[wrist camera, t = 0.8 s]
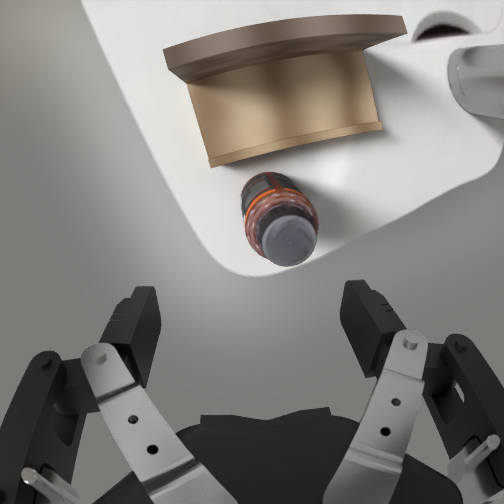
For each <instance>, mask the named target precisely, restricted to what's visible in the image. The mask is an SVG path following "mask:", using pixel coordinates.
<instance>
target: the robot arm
mask: <svg viewBox="0 0 504 504" xmlns="http://www.w3.org/2000/svg"><path fill="white" fill-rule="evenodd" d="M448 79H449V83H450V87H451V90H452V92H453V95H454V96H455V98H456V100H457V102H458V103H459V104H460V105H461V107H462V108H464V109H465V110H466V111H467V112H469V113H472V114H476V115H482V116H489V117H494V118H500V119H504V44H501V45H487V46H476V47H467V48H460V49H457V50H455V51H454V52H453V53H452V55H451V56H450V59H449V63H448ZM340 321H341V324H342V327H343V329H344V331H345V333H346V335H347V337H348V340H349V342H350V344H351V346H352V348H353V351H354V353H355V355H356V357H357V359H358V362H359V364H360V366H361V368H362V371H363V373H364V375H365V377H366V378H368V377H374V376H376V378H377V382H376V384H375V387H374V389H373V391H372V394H371V396H370V399H369V401H368V403H367V405H366V408H365V410H364V412H363V414H362V417H361V419H360V421H359V423H358V422H356V421H354V420H351V419H348V418H345V417H340V416H333V415H331V412H330V409H329V407H324V408H317V409H309V410H300V411H297V412H293V413H290V414H287V415H284V416H281V417H277V418H274V419H270V420H260V419H253V418H247V417H241V416H235V415H201V419H200V424H197V425H193V426H190V427H187V428H185V429H182V430H180V431H179V432H177V433H174V432H173V431H172V429H171V428H170V427H169V425H168V424H167V423H166V421H165V420H164V419H163V417H162V416H161V414H160V413H159V412H158V410H157V409H156V407H155V406H154V405H153V403H152V402H151V400H150V399H149V397H148V396H147V394H146V393H145V392H144V390H143V388H146V386H147V382H148V378H149V373H150V369H151V365H152V361H153V357H154V353H155V349H156V346H157V342H158V337H159V335H160V331H161V316H160V311H159V306H158V301H157V296H156V291H155V288H154V287H153V286H137V287H136V288H135V289H134V292H133V294H132V296H131V298H124V299H123V300H122V301H121V302H120V303H119V304H118V305H117V306H116V308H115V310H114V312H113V315H112V316H111V318H110V321H109V322H108V324H107V326H106V328H105V330H104V332H103V335H102V337H101V339H100V341H99V343H97V344H93V345H91V346H89V347H88V348H86V349H85V350H84V351H83V353H82V355H81V358H77V359H71V360H64V361H62V360H61V358H60V356H59V355H58V354H57V353H56V352H54V351H44V352H41V353H39V354H37V355H36V356H35V357H34V358H33V359H32V360H31V362H30V364H29V366H28V368H27V370H26V371H25V374H24V376H23V378H22V380H21V382H20V384H19V386H18V388H17V390H16V392H15V395H14V397H13V399H12V401H11V403H10V406H9V408H8V410H7V413H6V415H5V417H4V420H3V423H2V425H1V428H0V504H79V496H78V493H77V492H76V490H75V489H74V488H73V487H72V486H71V481H72V476H73V470H74V465H75V461H76V456H77V452H78V447H79V443H80V439H81V434H82V430H83V427H84V423H85V419H86V415H87V413H92V412H99V411H101V413H102V415H103V417H104V419H105V421H106V423H107V425H108V427H109V429H110V431H111V433H112V435H113V437H114V438H115V440H116V442H117V444H118V445H119V447H120V449H121V451H122V453H123V454H124V456H125V458H126V459H127V461H128V463H129V464H130V466H131V468H132V469H133V470H132V471H131V472H130V473H129V474H128V475H127V476H126V477H124V478H123V479H122V480H121V481H120V482H118V483H117V484H116V485H115V486H113V487H112V488H111V489H110V490H109V491H108V492H106V493H105V494H104V495H103V496H101V497H100V498H99V499H98V500H96V501H95V502H94V503H92V504H490V503H492V502H493V501H495V500H497V499H498V498H500V497H501V496H502V495H504V388H503V386H502V384H501V383H500V381H499V380H498V378H497V377H496V375H495V374H494V372H493V371H492V369H491V368H490V366H489V365H488V363H487V362H486V360H485V359H484V357H483V356H482V354H481V353H480V352H479V350H478V349H477V347H476V346H475V345H474V343H473V342H472V341H471V340H470V339H469V338H468V337H466V336H464V335H461V334H451V335H449V336H448V337H447V338H446V340H445V343H444V344H435V343H428V342H427V340H426V338H425V337H424V336H423V335H422V334H420V333H418V332H416V331H413V330H407V329H406V327H405V326H404V324H403V323H402V321H401V320H400V318H399V317H398V315H397V314H396V313H395V311H393V308H392V307H391V305H389V303H388V301H387V300H386V299H385V297H384V296H383V295H381V294H380V293H379V292H377V291H376V290H371V289H370V287H369V286H368V285H367V283H366V282H365V280H348V281H346V283H345V286H344V292H343V297H342V303H341V308H340ZM457 383H458V385H459V386H460V388H461V390H462V392H463V394H464V403H463V401H462V400H461V398H460V396H459V394H458V392H457V390H456V388H455V386H456V384H457ZM422 395H423V397H424V399H425V402H426V404H427V406H428V408H429V410H430V413H431V415H432V417H433V420H434V422H435V424H436V427H437V429H438V431H439V434H440V436H441V438H442V441H443V443H444V446H445V448H446V451H447V454H448V456H449V459H450V462H449V464H448V469H447V470H448V475H447V477H446V476H444V475H443V474H440V473H439V472H437V471H435V470H434V469H432V468H430V467H428V466H427V465H425V464H424V463H422V462H420V461H418V460H417V459H415V458H414V457H412V456H410V455H409V454H407V453H405V452H406V449H407V446H408V443H409V440H410V437H411V433H412V430H413V427H414V423H415V420H416V416H417V413H418V409H419V405H420V401H421V397H422Z"/></svg>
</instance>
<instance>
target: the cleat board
mask: <svg viewBox="0 0 504 504" xmlns="http://www.w3.org/2000/svg"><path fill="white" fill-rule="evenodd" d="M404 34H407V30H406V27H405V24H404V21H403V18H402V16H396V15H372V14H352V15H327V16H314V17H303V18H294V19H286V20H279V21H273V22H267V23H261V24H255V25H250V26H245V27H240V28H236V29H231V30H227V31H223V32H219V33H215V34H211V35H208V36H204V37H200V38H197V39H194V40H190V41H187V42H184V43H181V44H178V45H175V46H172V47H169V48H166V49H163V53H164V56H165V60H166V63H167V67H168V70H170V71H171V72H172V73H174V74H175V75H176V76H177V77H179V78H180V79H181V80H183V81H184V82H185V83H186V84H187V87H188V91H189V94H190V98H191V101H192V104H193V108H194V111H195V115H196V118H197V121H198V125H199V128H200V131H201V135H202V138H203V141H204V145H205V148H206V151H207V155H208V158H209V160H208V161H209V164H210V167H211V168H213V167H217V166H220V165H224V164H227V163H231V162H234V161H238V160H242V159H245V158H249V157H253V156H257V155H261V154H264V153H268V152H272V151H277V150H281V149H285V148H289V147H293V146H298V145H302V144H307V143H312V142H316V141H321V140H326V139H331V138H336V137H341V136H347V135H352V134H358V133H363V132H369V131H375V130H382V129H383V127H382V122H381V121H378V117H377V112H376V107H375V102H374V97H373V93H372V88H371V84H370V80H369V76H368V72H367V68H366V64H365V60H364V56H363V53H362V50H364V49H366V48H369V47H371V46H374V45H377V44H379V43H382V42H385V41H387V40H390V39H393V38H396V37H398V36H401V35H404Z"/></svg>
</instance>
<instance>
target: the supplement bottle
mask: <svg viewBox="0 0 504 504" xmlns="http://www.w3.org/2000/svg"><path fill="white" fill-rule="evenodd" d="M240 202H241V210H242V215H243V221H244V227H245V232H246V237H247V239H248V241H249V243H250V245H251V247H252V248H253V249H254V250H255V251H256V252H257V253H258V254H259V255H260V256H262V257H264V258H267V259H269V260H270V261H271V262H273V263H274V264H277V265H280V266H285V267H288V266H294V265H298V264H300V263H302V262H303V261H305V260H306V259H307V258H308V257H309V256H310V255H311V254H312V252H313V251H314V248H315V246H316V239H317V238H316V236H317V233H318V216H317V213H316V211H315V209H314V207H313V205H312V204H311V202H310V201H309V200H308V199H307V198H306V197H305V196H304V194H303V193H302V192H301V191H300V190H299V189H298V188H297V187H296V186H295V185H294V184H293V183H292V182H291V181H290V180H289V179H288V178H286V177H285V176H283V175H281V174H279V173H274V172H264V173H260V174H258V175H256V176H254V177H253V178H251V179H250V180H249V181H248V182H247V183H246V184H245V186H244V188H243V190H242V193H241V201H240Z"/></svg>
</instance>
